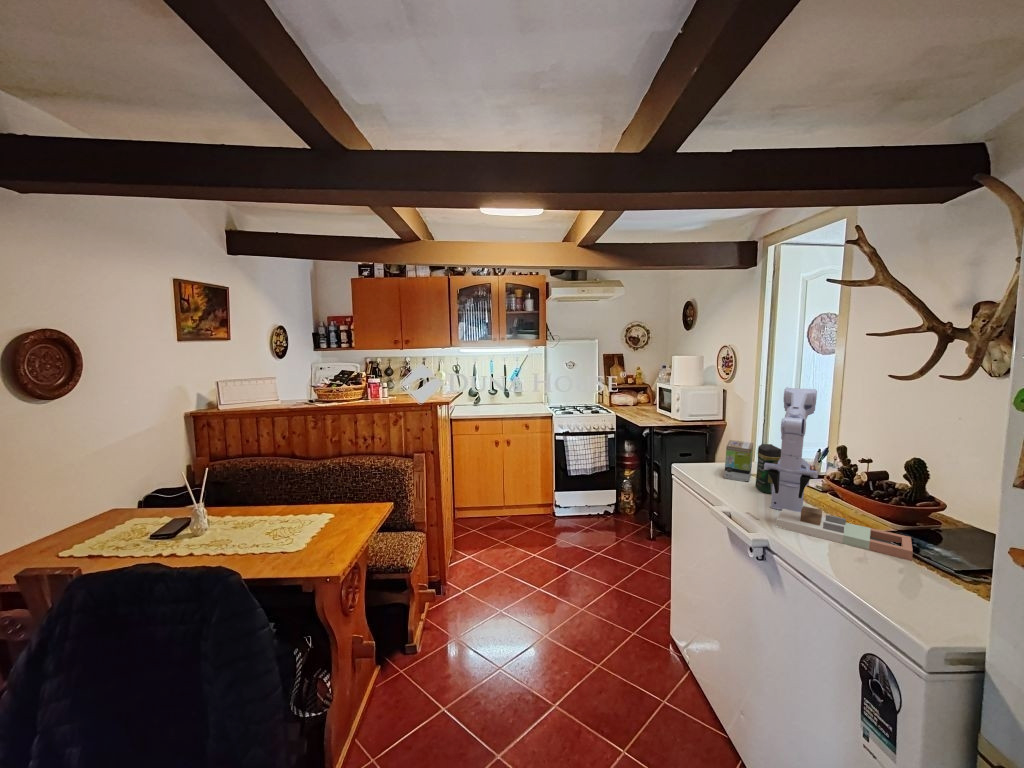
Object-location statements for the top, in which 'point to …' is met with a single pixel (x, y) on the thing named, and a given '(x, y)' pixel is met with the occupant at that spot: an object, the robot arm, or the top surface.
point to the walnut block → (811, 515)
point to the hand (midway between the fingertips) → (788, 494)
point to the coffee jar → (765, 455)
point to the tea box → (738, 460)
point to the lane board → (848, 534)
